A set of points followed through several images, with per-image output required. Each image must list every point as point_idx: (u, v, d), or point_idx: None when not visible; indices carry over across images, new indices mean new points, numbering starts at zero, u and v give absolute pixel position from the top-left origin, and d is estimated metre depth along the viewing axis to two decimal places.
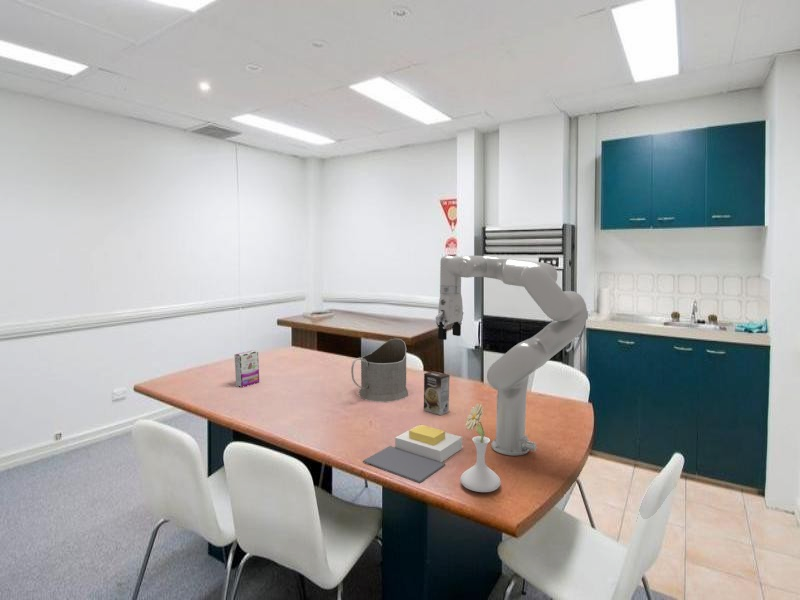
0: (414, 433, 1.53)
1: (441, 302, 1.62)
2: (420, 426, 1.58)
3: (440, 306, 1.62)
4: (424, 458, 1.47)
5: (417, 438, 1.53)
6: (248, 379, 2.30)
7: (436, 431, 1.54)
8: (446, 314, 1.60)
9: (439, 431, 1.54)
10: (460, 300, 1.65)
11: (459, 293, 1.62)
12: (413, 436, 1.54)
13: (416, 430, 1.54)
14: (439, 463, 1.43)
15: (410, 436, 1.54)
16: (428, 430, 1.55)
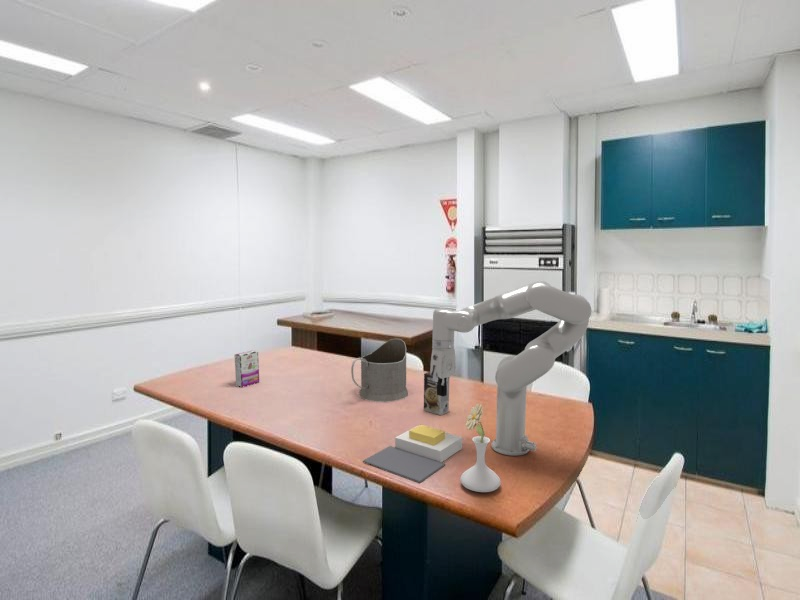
0: (414, 433, 1.53)
1: (433, 357, 1.57)
2: (420, 426, 1.58)
3: (432, 361, 1.57)
4: (424, 458, 1.47)
5: (417, 438, 1.53)
6: (248, 379, 2.30)
7: (436, 431, 1.54)
8: (438, 370, 1.55)
9: (439, 431, 1.54)
10: (453, 354, 1.60)
11: (452, 347, 1.57)
12: (413, 436, 1.54)
13: (416, 430, 1.54)
14: (439, 463, 1.43)
15: (410, 436, 1.54)
16: (428, 430, 1.55)
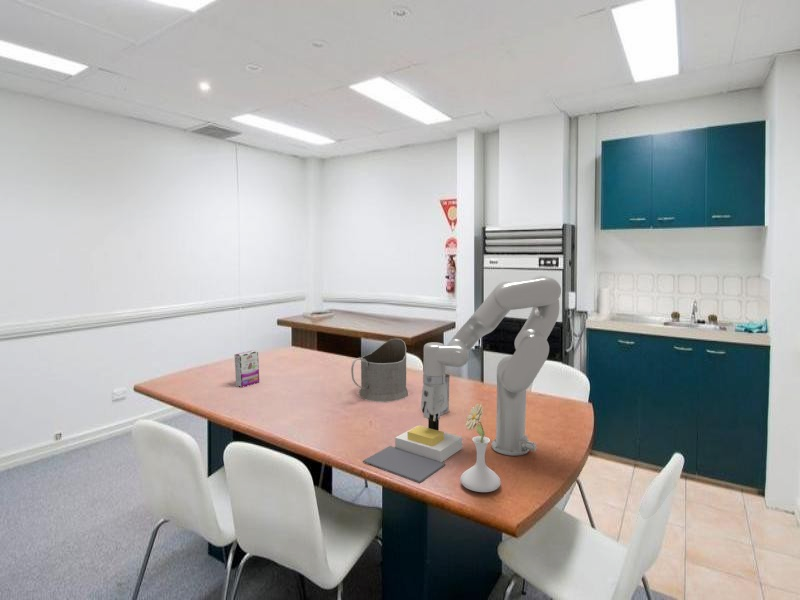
0: (412, 434, 1.52)
1: (424, 392, 1.54)
2: (418, 427, 1.57)
3: (423, 397, 1.53)
4: (424, 458, 1.47)
5: (416, 439, 1.52)
6: (248, 379, 2.30)
7: (435, 432, 1.53)
8: (429, 406, 1.52)
9: (438, 432, 1.53)
10: (444, 389, 1.57)
11: (443, 383, 1.54)
12: (411, 437, 1.53)
13: (415, 431, 1.54)
14: (439, 463, 1.43)
15: (409, 437, 1.53)
16: (427, 431, 1.54)
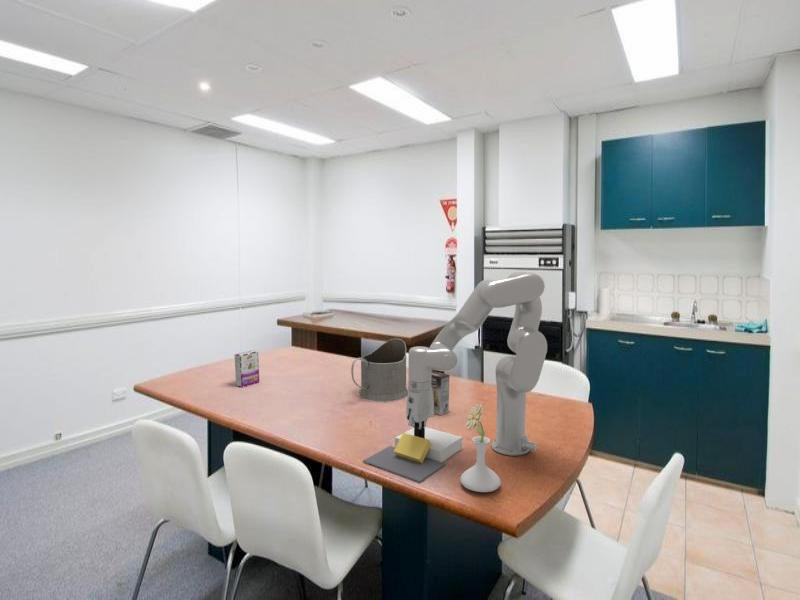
0: (399, 453, 1.47)
1: (409, 399, 1.47)
2: (403, 437, 1.50)
3: (408, 404, 1.46)
4: None
5: (404, 456, 1.47)
6: (248, 379, 2.30)
7: (420, 443, 1.46)
8: (414, 414, 1.45)
9: (423, 442, 1.46)
10: (431, 395, 1.50)
11: (429, 389, 1.47)
12: (399, 455, 1.48)
13: (401, 448, 1.47)
14: (439, 463, 1.43)
15: (397, 454, 1.48)
16: (412, 443, 1.47)
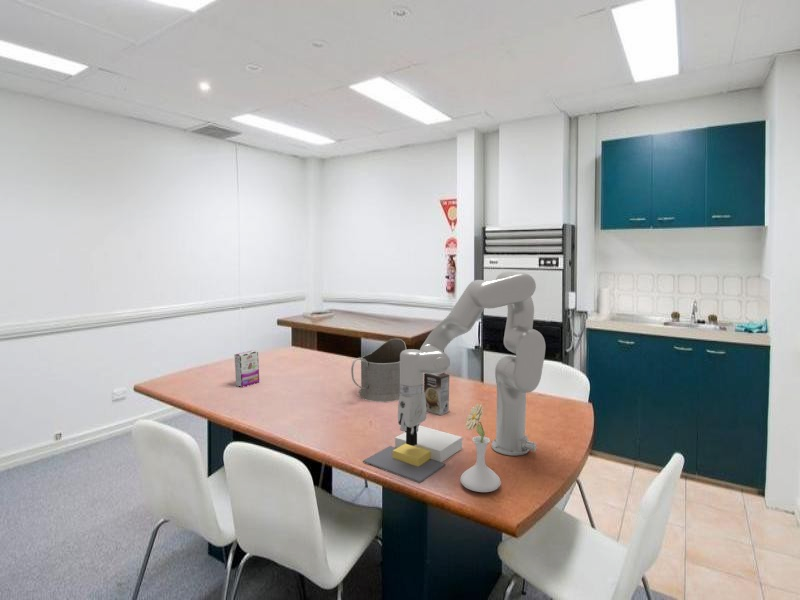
0: (398, 453, 1.46)
1: (401, 403, 1.43)
2: (404, 445, 1.51)
3: (399, 408, 1.43)
4: None
5: (401, 458, 1.45)
6: (248, 379, 2.30)
7: (421, 451, 1.46)
8: (406, 418, 1.41)
9: (424, 451, 1.46)
10: (423, 399, 1.46)
11: (421, 393, 1.43)
12: (396, 456, 1.46)
13: (400, 450, 1.47)
14: (439, 463, 1.43)
15: (394, 456, 1.47)
16: (413, 449, 1.47)
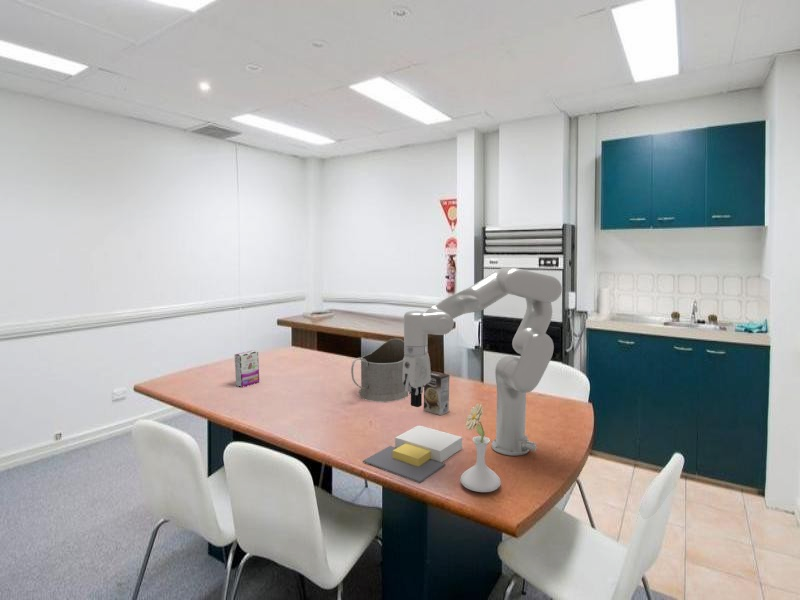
0: (398, 453, 1.46)
1: (405, 364, 1.44)
2: (404, 445, 1.51)
3: (404, 369, 1.43)
4: None
5: (401, 458, 1.45)
6: (248, 379, 2.30)
7: (421, 451, 1.46)
8: (411, 378, 1.42)
9: (424, 451, 1.46)
10: (427, 360, 1.47)
11: (425, 354, 1.44)
12: (396, 456, 1.46)
13: (400, 450, 1.47)
14: (439, 463, 1.43)
15: (394, 456, 1.47)
16: (413, 449, 1.47)
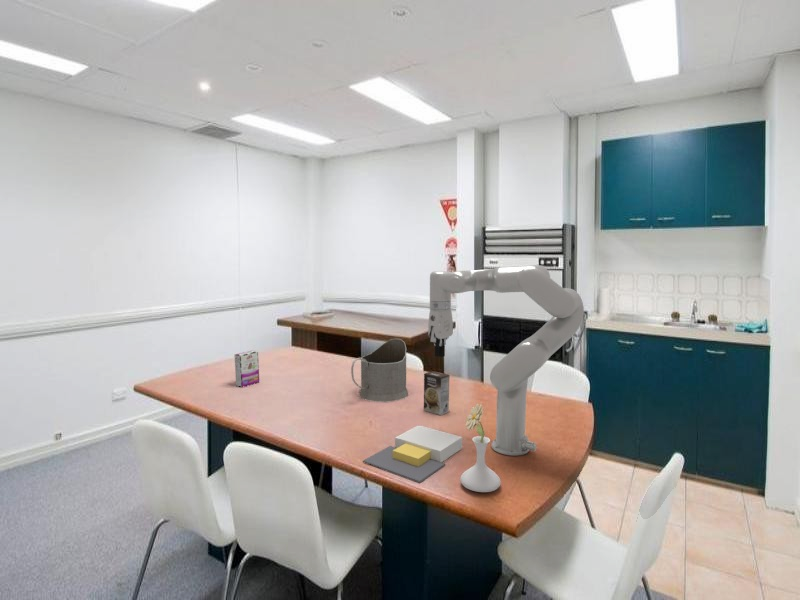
0: (398, 453, 1.46)
1: (431, 318, 1.61)
2: (404, 445, 1.51)
3: (430, 322, 1.61)
4: None
5: (401, 458, 1.45)
6: (248, 379, 2.30)
7: (421, 451, 1.46)
8: (436, 330, 1.59)
9: (424, 451, 1.46)
10: (450, 315, 1.64)
11: (449, 308, 1.62)
12: (396, 456, 1.46)
13: (400, 450, 1.47)
14: (439, 463, 1.43)
15: (394, 456, 1.47)
16: (413, 449, 1.47)
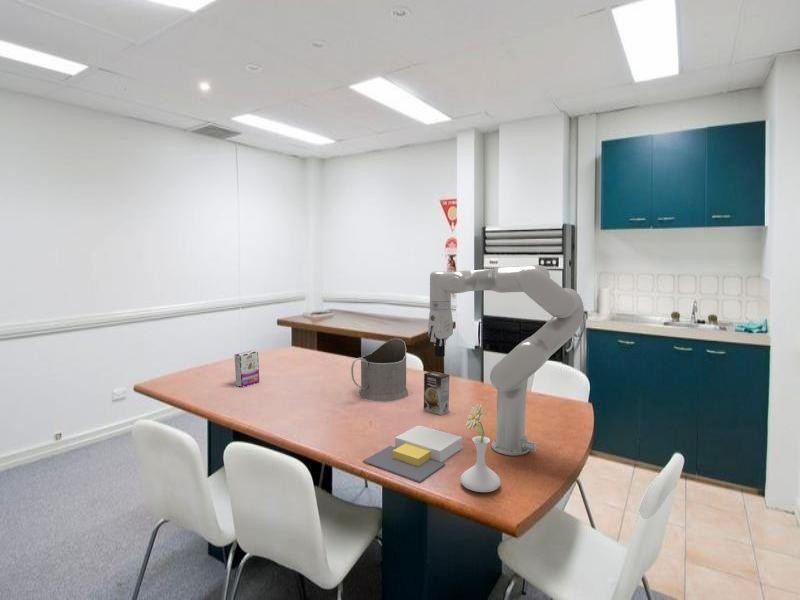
0: (398, 453, 1.46)
1: (431, 318, 1.61)
2: (404, 445, 1.51)
3: (430, 322, 1.61)
4: None
5: (401, 458, 1.45)
6: (248, 379, 2.30)
7: (421, 451, 1.46)
8: (436, 330, 1.59)
9: (424, 451, 1.46)
10: (450, 315, 1.64)
11: (449, 308, 1.62)
12: (396, 456, 1.46)
13: (400, 450, 1.47)
14: (439, 463, 1.43)
15: (394, 456, 1.47)
16: (413, 449, 1.47)
